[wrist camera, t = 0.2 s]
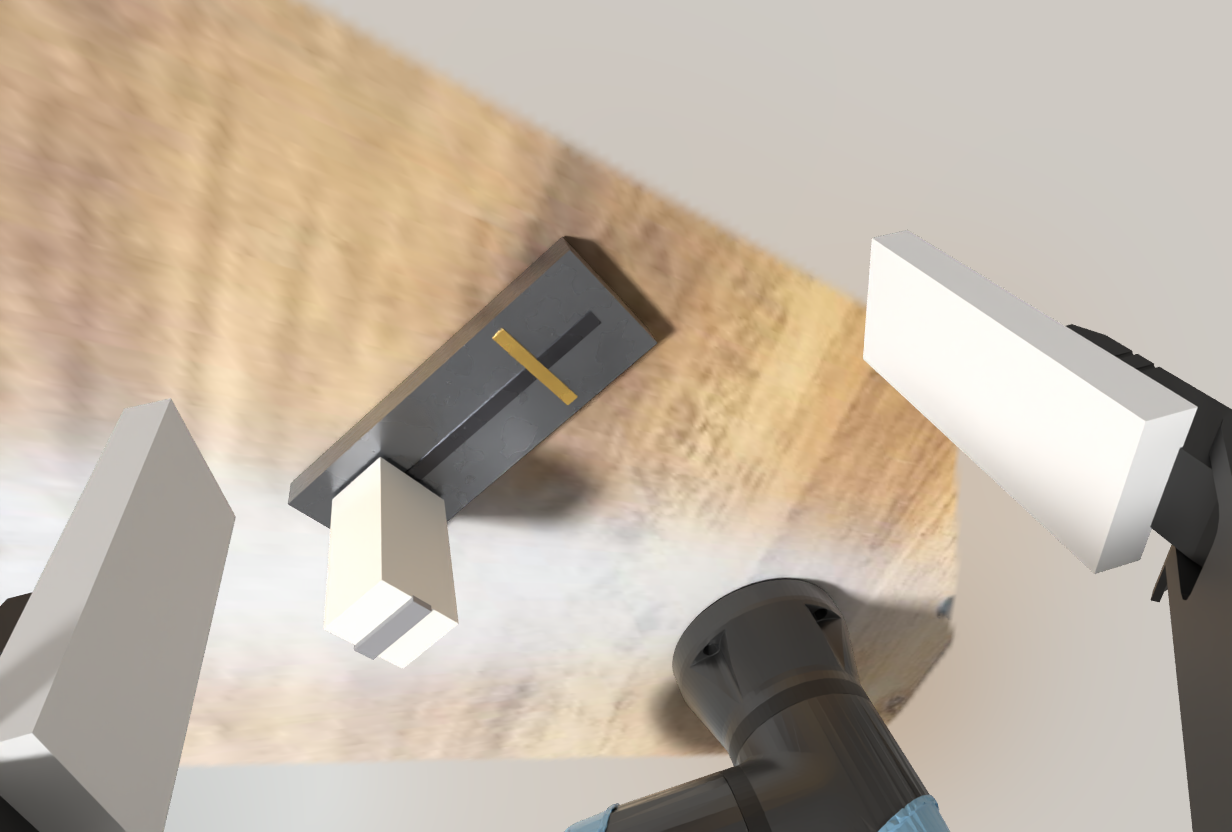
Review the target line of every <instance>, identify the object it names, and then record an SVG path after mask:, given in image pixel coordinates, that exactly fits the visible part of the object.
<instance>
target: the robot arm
mask: <svg viewBox="0 0 1232 832" xmlns="http://www.w3.org/2000/svg"><path fill="white" fill-rule="evenodd" d="M863 359H864V360H865V361H866V362H867V363H868V364H869V365H870V366H871V367H872V368H874V369H875V370H876V371H877V372H878V373H879V374H880V375H881V376H882V377H883V378H884V379H885V380H886V381H888V382H889V383H890V384H891V385H892V386H893V387H894V388H895V389H896V390H897V391H898V392H899V393H900V394H901V395H903V396H904V397H905V398H906V399H907V400H908V401H909V402H910V403H911V404H912V405H913V406H914V407H915V408H917V409H918V410H919V411H920V412H921V413H922V414H923V415H924V416H925V417H926V418H927V419H928V420H929V421H931V422H932V423H933V424H934V425H935V426H936V427H937V428H938V429H939V430H940V431H941V432H942V433H943V434H944V435H946V436H947V437H948V438H949V439H950V440H951V441H952V442H953V443H954V444H955V445H956V446H957V447H958V448H960V449H961V450H962V451H963V452H964V453H965V454H966V455H967V456H968V457H969V458H970V459H972V461H974V462H975V463H976V464H977V465H978V466H979V467H980V468H981V469H982V470H983V471H984V472H985V473H986V474H988V475H989V476H990V477H991V478H992V479H993V480H994V481H995V482H996V483H997V484H998V485H1000V487H1002V488H1003V489H1004V490H1005V491H1006V492H1007V493H1008V494H1009V495H1010V496H1011V497H1013V499H1015V501H1017V502H1018V503H1019V504H1020V505H1021V506H1022V507H1023V508H1024V509H1025V510H1026V511H1027V512H1028V513H1029V514H1031V515H1032V516H1033V517H1034V518H1035V519H1036V520H1037V521H1038V522H1039V523H1040V524H1041V525H1042V526H1043V527H1045V528H1046V529H1047V530H1048V531H1049V532H1050V533H1051V534H1052V535H1053V536H1054V537H1055V538H1056V539H1057V540H1058V541H1060V542H1061V543H1062V544H1063V545H1064V546H1065V547H1066V548H1067V549H1068V550H1069V551H1070V552H1071V553H1072V554H1074V555H1075V556H1076V557H1077V558H1078V559H1079V560H1080V561H1081V562H1082V563H1083V564H1084V565H1085V566H1086V567H1088V568H1089V569H1090V570H1091V571H1092V572H1093V573H1094V574H1096V573H1099V572H1103V571H1106V570H1109V569H1112V568H1116V567H1118V566H1122V565H1125V564H1128V563H1132V562H1135V561H1138V560H1140V559H1141V556H1142V553H1143V551H1144V548H1145V545H1146V542H1147V540H1148V537H1149V535H1150V532H1151V529H1153V530H1155V531H1156V532H1157V533H1158V534H1160V535H1161V536H1162V537H1164V538H1165V539H1166V540H1167V541H1168V542H1170V543H1171V544H1172V545H1171V547H1170V550H1169V552H1168V555H1167V558H1166V560H1165V562H1164V565H1163V567H1162V570H1161V572H1160V575H1159V577H1158V580H1157V582H1156V584H1155V587H1154V590H1153V593H1152V597H1151V601H1156V602H1160V600H1161V598H1162V595H1163V593H1164V591H1166V590H1168V596H1169V605H1170V615H1171V624H1172V634H1173V644H1174V653H1175V663H1176V673H1177V681H1178V682H1177V683H1178V693H1179V701H1180V712H1181V721H1182V731H1183V741H1184V751H1185V760H1186V770H1187V780H1188V790H1189V799H1190V809H1191V819H1192V829H1193V832H1232V409H1230V408H1229V407H1227V406H1225V405H1223V404H1222V403H1220V402H1218V401H1217V400H1215V399H1213V398H1211V397H1210V396H1208V395H1206V394H1205V393H1203V392H1201V391H1200V390H1198V389H1196V388H1195V387H1193V386H1191V385H1189V384H1188V383H1186V382H1184V381H1183V380H1181V379H1179V378H1178V377H1176V376H1174V375H1173V374H1171V373H1169V372H1167V371H1166V370H1164V369H1162V368H1161V367H1157V368H1155V367H1154V363H1152V362H1150V361H1149V360H1147V359H1145V358H1144V357H1142V356H1140V355H1139V354H1135V355H1133V353H1132V350H1130V349H1128V348H1126V347H1125V346H1123V345H1121V344H1120V343H1118V342H1116V341H1115V340H1113V339H1111V338H1110V337H1108V336H1106V335H1103V334H1100V333H1097V332H1094V331H1091V330H1088V329H1085V328H1081V327H1078V326H1076V325H1072V324H1071V325H1067V326H1064V325H1063V324H1061V323H1059V322H1058V321H1056V320H1054V319H1053V318H1051V317H1049V316H1048V315H1046V314H1045V313H1043V312H1041V311H1040V310H1038V309H1036V308H1035V307H1033V306H1032V305H1030V304H1028V303H1026V302H1025V301H1023V300H1022V299H1020V298H1018V297H1016V296H1015V295H1013V294H1012V293H1010V292H1008V291H1007V290H1005V289H1004V288H1002V287H1000V286H999V285H997V284H995V283H994V282H992V281H991V280H989V279H987V278H986V277H984V276H982V275H981V274H979V273H977V272H976V271H974V270H972V269H971V268H969V267H968V266H966V265H964V264H963V263H961V262H959V261H958V260H956V259H954V258H953V257H951V256H950V255H948V254H946V253H945V252H943V251H941V250H939V249H938V248H936V247H935V246H933V245H932V244H930V243H928V242H927V241H925V240H923V239H921V238H920V237H918V236H916V235H915V234H913V233H912V232H910V231H909V230H905V231H901V232H897V233H892V234H888V235H883V236H879V237H874V238H872V244H871V257H870V271H869V286H868V299H867V312H866V326H865V340H864V354H863ZM234 522H235V515H234V513H233V511H232V509H231V507H230V506H229V504H228V502H227V500H226V498H225V496H224V495H223V493H222V491H221V489H220V487H219V485H218V484H217V482H216V480H215V478H214V476H213V474H212V473H211V471H210V469H209V467H208V465H207V463H206V462H205V460H204V458H203V456H202V454H201V452H200V451H199V449H198V447H197V445H196V443H195V441H194V440H193V438H192V436H191V434H190V432H189V430H188V429H187V427H186V425H185V423H184V421H183V419H182V418H181V416H180V414H179V412H178V410H177V408H176V407H175V405H174V403H173V401H172V399H171V398H170V399H165V400H161V401H157V402H152V403H148V404H143V405H139V406H135V407H130V408H126V409H124V410H123V412H122V414H121V416H120V418H119V420H118V422H117V424H116V426H115V428H114V430H113V432H112V434H111V436H110V438H109V440H108V442H107V444H106V446H105V448H104V450H103V452H102V454H101V456H100V458H99V460H98V462H97V464H96V466H95V468H94V470H93V472H92V474H91V476H90V478H89V480H88V482H87V484H86V486H85V488H84V490H83V492H82V494H81V496H80V498H79V500H78V502H77V504H76V506H75V508H74V510H73V512H72V514H71V516H70V518H69V520H68V522H67V524H66V526H65V528H64V530H63V532H62V534H61V536H60V538H59V540H58V542H57V544H56V546H55V548H54V550H53V552H52V554H51V556H50V558H49V560H48V562H47V564H46V566H45V568H44V570H43V572H42V574H41V576H40V578H39V580H38V582H37V584H36V586H35V588H34V590H33V592H32V593H28V594H24V595H20V596H16V597H12V598H8V599H7V600H6V601H5V602H4V603H3V604H2V605H1V606H0V832H163V831H164V827H165V823H166V819H167V814H168V810H169V805H170V801H171V797H172V792H173V788H174V784H175V780H176V775H177V771H178V766H179V762H180V758H181V753H182V749H183V745H184V740H185V736H186V731H187V727H188V723H189V718H190V714H191V710H192V705H193V701H194V697H195V692H196V688H197V683H198V679H199V675H200V670H201V666H202V662H203V657H204V653H205V648H206V644H207V640H208V635H209V631H210V627H211V622H212V618H213V614H214V609H215V605H216V600H217V596H218V592H219V587H220V583H221V579H222V574H223V570H224V565H225V561H226V557H227V552H228V548H229V544H230V539H231V535H232V531H233V526H234ZM672 667H673V673H674V676H675V679H676V682H677V684H678V687H679V689H680V692H681V695H682V697H683V699H684V700H685V702H686V704H687V705H688V706H689V708H690V709H691V710H692V711H693V712H694V713H695V714H696V716H697V717H698V718H699V719H700V720H701V721H702V722H703V724H704V725H705V726H706V727H707V728H708V729H709V730H710V732H711V733H712V734H713V735H714V736H715V737H716V739H717V740H718V741H719V742H720V743H721V744H722V745H723V747H724V748H725V749H726V750H727V752H728V754H729V756H730V758H731V760H732V763H733V765H734V767H731V768H728V769H725V770H723V771H719V772H716V773H713V774H710V775H707V776H704V777H701V778H698V779H695V780H692V781H690V782H687V783H684V784H681V785H678V786H675V787H672V788H669V789H666V790H663V791H660V792H657V793H654V794H651V795H648V796H645V797H642V798H640V799H637V800H633V801H631V802H628V803H625V804H622V805H619V804H618V803H617V804H613V805H611V806H610V807H608V808H607V810H606V811H604V812H602V813H599V814H597V815H594V816H592V817H590V818H587V819H585V820H582V821H580V822H577V823H575V824H573V825H571V826H570V827H568V828H567V829H566V830H565V831H564V832H950V831H949V829H948V827H947V825H946V823H945V822H944V820H943V818H942V816H941V815H940V813H939V807H938V804H937V802H936V800H935V799H934V798H933V796H931V795H930V794H929V793H928V791H927V790H926V788H925V787H924V785H923V784H922V782H921V780H920V779H919V777H918V775H917V774H916V772H915V771H914V769H913V768H912V766H911V764H910V763H909V761H908V760H907V758H906V756H905V755H904V753H903V752H902V750H901V748H900V747H899V745H898V744H897V742H896V741H895V739H894V737H893V736H892V734H891V733H890V731H889V730H888V728H887V726H886V725H885V723H884V721H883V720H882V718H881V717H880V715H879V714H878V712H877V710H876V709H875V707H874V706H873V704H872V703H871V701H870V700H869V698H868V696H867V695H866V693H865V692H864V690H863V688H862V686H861V684H860V680H859V676H858V672H857V667H856V663H855V659H854V654H853V650H852V646H851V642H850V637H849V633H848V629H847V625H846V622H845V620H844V618H843V616H842V614H841V613H840V611H839V610H838V608H837V607H836V605H835V603H834V602H833V600H832V599H831V598H830V596H829V595H828V594H827V593H826V592H825V591H824V590H823V589H821V588H820V587H818V586H816V585H814V584H811V583H808V582H804V581H799V580H788V579H783V580H772V581H766V582H761V583H757V584H754V585H750V586H748V587H745V588H742V589H740V590H737V591H735V592H733V593H731V594H729V595H727V596H725V597H723V598H722V599H720V600H718V601H717V602H715V603H714V604H712V605H711V606H710V607H708V608H707V609H706V610H704V611H703V612H702V613H701V614H700V615H699V616H698V617H697V618H696V619H695V620H694V621H693V622H692V623H691V624H690V625H689V626H688V628H687V629H686V630H685V632H684V633H683V635H682V636H681V638H680V640H679V642H678V644H677V646H676V648H675V652H674V656H673V662H672Z"/></svg>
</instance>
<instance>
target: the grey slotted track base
mask: <svg viewBox="0 0 1232 832" xmlns="http://www.w3.org/2000/svg"><path fill="white" fill-rule="evenodd" d="M656 344H657V342H656V340H655V339H654V337H653V336H652V334H651V332H650V331H649V329H648V328H647V327H646V326H645V325H644V323H643V322H642V321H641V320H640V319H639V318H638V317H637V316H636V315H635V314H634V313H633V312H632V311H631V310H630V308H629V307H628V306H627V305H626V304H625V303H624V302H623V301H622V300H621V299H620V298H619V297H618V296H617V295H616V294H615V292H614V291H613V290H612V289H611V288H610V287H609V286H608V285H607V284H606V283H605V282H604V281H603V280H602V279H601V277H600V276H599V275H598V274H597V273H596V272H595V271H594V270H593V269H592V268H591V267H590V266H589V265H588V264H587V262H586V261H585V260H584V259H583V258H582V257H581V256H580V255H579V254H578V253H577V252H576V251H575V250H574V249H573V247H572V246H571V245H570V244H569V243H568V242H567V241H566V240H565V239H564V238H563V237H561V238H560V239H559V240H558V241H557V242H556V243H555V244H554V245H553V246H552V247H550V248H549V249H548V250H547V251H546V252H545V253H544V254H543V255H542V256H541V257H539V258H538V259H537V260H536V261H535V262H534V263H533V264H532V265H531V266H529V267H528V268H527V269H526V270H525V271H524V272H523V273H522V274H521V275H520V276H518V277H517V278H516V279H515V280H514V281H513V282H512V283H511V284H510V285H509V286H507V287H506V288H505V289H504V290H503V291H502V292H501V293H500V294H499V295H498V296H496V297H495V298H494V299H493V300H492V301H491V302H490V303H489V304H488V305H487V306H485V307H484V308H483V309H482V310H481V311H480V312H479V313H478V314H477V315H476V316H474V317H473V318H472V319H471V320H470V321H469V322H468V323H467V324H466V325H465V326H463V327H462V328H461V329H460V330H459V331H458V332H457V333H456V334H455V335H454V336H452V337H451V338H450V339H449V340H448V341H447V342H446V343H445V344H444V345H443V346H441V347H440V348H439V349H438V350H437V351H436V352H435V353H434V354H433V355H432V356H430V357H429V358H428V359H427V360H426V361H425V362H424V363H423V364H422V365H421V366H419V367H418V368H417V369H416V370H415V371H414V372H413V373H412V374H411V375H410V376H408V377H407V378H406V379H405V380H404V381H403V382H402V383H401V384H400V385H399V386H397V387H396V388H395V389H394V390H393V391H392V392H391V393H390V394H389V395H388V396H386V397H385V398H384V399H383V400H382V401H381V402H380V403H379V404H378V405H377V406H375V407H374V408H373V409H372V410H371V411H370V412H369V413H368V414H367V415H366V416H364V417H363V418H362V419H361V420H360V421H359V422H358V423H357V424H356V425H355V426H353V427H352V428H351V429H350V430H349V431H348V432H347V433H346V434H345V435H344V436H342V437H341V438H340V439H339V440H338V441H337V442H336V443H335V444H334V445H333V446H331V447H330V448H329V449H328V450H327V451H326V452H325V453H324V454H323V455H321V456H320V457H319V458H318V459H317V460H316V461H315V462H314V463H313V464H312V465H310V466H309V467H308V468H307V469H306V470H305V471H304V472H303V473H302V474H301V475H299V476H298V477H297V478H296V479H295V480H294V481H293V482H292V483H291V486H290V493H289V500H288V504H289V505H290V506H292V507H294V508H295V509H297V510H299V511H300V512H302V513H304V514H306V515H307V516H309V517H311V518H312V519H314V520H316V521H317V522H319V523H321V524H323V525H324V526H326V527H328V528H329V529H330V527H331V513H332V499H333V498H334V497H336V496H337V495H338V494H339V493H340V492H341V491H342V490H343V489H345V488H346V487H347V486H348V485H349V484H350V483H351V482H352V481H354V480H355V479H356V478H357V477H358V476H359V475H360V474H361V473H363V472H364V471H365V470H366V469H367V468H368V467H369V466H370V465H371V464H373V463H374V462H375V461H376V460H377V459H378V458H379V457H382V458H383V459H385V460H386V461H387V462H389V463H390V464H392V465H393V466H395V467H396V468H398V469H399V470H401V471H402V472H404V473H405V474H406V475H408V476H409V477H411V478H412V479H414V480H415V481H417V482H418V483H420V484H421V485H423V486H424V487H425V488H427V489H428V490H430V491H431V492H433V493H434V494H436V495H437V496H439V497H440V498H442V499H443V500H444V503H445V512H446V520H447V521H448V520H449V519H451V518H452V517H453V516H454V515H455V514H456V513H458V512H459V511H460V510H461V509H462V508H463V507H465V506H466V505H467V504H468V503H469V502H471V501H472V500H473V499H474V498H475V497H476V496H478V495H479V494H480V493H481V492H482V491H484V490H485V489H486V488H487V487H488V486H489V485H491V484H492V483H493V482H494V481H495V480H496V479H498V478H499V477H500V476H501V475H502V474H504V473H505V472H506V471H507V470H508V469H509V468H511V467H512V466H513V465H514V464H515V463H516V462H518V461H519V460H520V459H521V458H522V457H524V456H525V455H526V454H527V453H528V452H529V451H531V450H532V449H533V448H534V447H535V446H537V445H538V444H539V443H540V442H541V441H542V440H544V439H545V438H546V437H547V436H548V435H549V434H551V433H552V432H553V431H554V430H555V429H557V428H558V427H559V426H560V425H561V424H562V423H564V422H565V421H566V420H567V419H568V418H570V417H571V416H572V415H573V414H574V413H575V412H577V411H578V410H579V409H580V408H581V407H582V406H584V405H585V404H586V403H587V402H588V401H590V400H591V399H592V398H593V397H594V396H595V395H597V394H598V393H599V392H600V391H601V390H603V389H604V388H605V387H606V386H607V385H608V384H610V383H611V382H612V381H613V380H614V379H615V378H617V377H618V376H619V375H620V374H621V373H623V372H624V371H625V370H626V369H627V368H628V367H630V366H631V365H632V364H633V363H634V362H636V361H637V360H638V359H639V358H640V357H641V356H643V355H644V354H645V353H646V352H647V351H648V350H650V349H651V348H652V347H653V346H654V345H656Z"/></svg>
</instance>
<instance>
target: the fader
mask: <svg viewBox="0 0 1232 832" xmlns="http://www.w3.org/2000/svg"><path fill="white" fill-rule="evenodd" d="M457 624H459V623H458V615H457V606H456V598H455V589H454V581H453V572H452V563H451V555H450V546H449V538H448V529H447V520H446V512H445V503H444V500H443V499H442V498H440V497H439V496H437V495H436V494H434V493H433V492H431V491H430V490H428V489H427V488H425V487H424V486H423V485H421V484H420V483H418V482H417V481H415V480H414V479H412V478H411V477H409V476H408V475H406V474H405V473H404V472H402V471H401V470H399V469H398V468H396V467H395V466H393V465H392V464H390V463H389V462H387V461H386V460H385V459H383V458H382V457H379V458H378V459H377V460H376V461H375V462H374V463H373V464H371V465H370V466H369V467H368V468H367V469H366V470H365V471H364V472H363V473H361V474H360V475H359V476H358V477H357V478H356V479H355V480H354V481H352V482H351V483H350V484H349V485H348V486H347V487H346V488H345V489H343V490H342V491H341V492H340V493H339V494H338V495H337V496H336V497H334V498H333V499H332V513H331V527H330V541H329V556H328V570H327V584H326V598H325V613H324V627H323V629H324V630H326V631H328V632H330V633H332V634H334V635H336V636H338V637H340V638H342V639H344V640H346V641H348V642H350V643H352V644H354V650H355V651H357V652H359V653H361V654H363V655H365V656H367V657H369V658H371V659H373V660H374V659H375V658H376V657H377V656H378V657H380V658H382V659H384V660H386V661H388V662H390V663H392V664H394V665H396V666H398V667H400V668H402V669H403V668H404V667H406V666H407V665H408V664H409V663H411V662H412V661H413V660H414V659H415V658H417V657H418V656H419V655H420V654H422V653H423V652H424V651H425V650H427V649H428V648H429V647H430V646H432V645H433V644H434V643H435V642H436V641H438V640H439V639H440V638H441V637H443V636H444V635H445V634H446V633H448V632H449V631H450V630H451V629H452V628H454V627H455V626H456V625H457Z"/></svg>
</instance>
